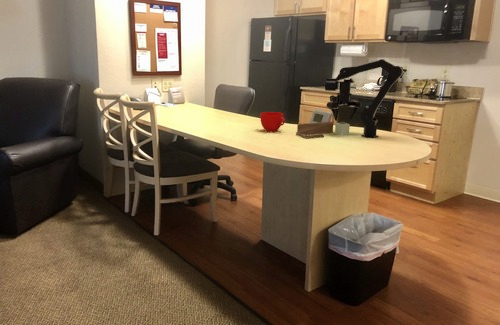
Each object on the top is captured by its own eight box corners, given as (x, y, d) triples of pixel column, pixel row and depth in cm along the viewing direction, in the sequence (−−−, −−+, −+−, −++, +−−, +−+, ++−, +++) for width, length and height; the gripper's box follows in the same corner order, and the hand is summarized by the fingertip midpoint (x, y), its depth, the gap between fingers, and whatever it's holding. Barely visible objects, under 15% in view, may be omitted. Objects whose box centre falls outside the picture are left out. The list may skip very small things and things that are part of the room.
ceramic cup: (275, 134, 213) (275, 116, 210) (255, 130, 225) (255, 113, 223) (292, 132, 220) (292, 114, 218) (272, 128, 233) (272, 111, 230)
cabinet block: (348, 135, 213) (349, 122, 211) (341, 135, 211) (342, 123, 209) (342, 133, 218) (343, 121, 217) (334, 133, 216) (335, 121, 215)
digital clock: (307, 126, 237) (308, 109, 234) (321, 126, 240) (321, 108, 237) (319, 131, 222) (320, 113, 219) (333, 130, 225) (335, 112, 222)
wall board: (342, 135, 211) (343, 124, 209) (305, 138, 203) (306, 127, 201) (331, 132, 220) (331, 121, 219) (295, 135, 212) (296, 124, 210)
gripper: (349, 89, 219) (348, 117, 223) (321, 90, 212) (320, 119, 216) (362, 91, 209) (360, 120, 213) (333, 92, 202) (331, 122, 206)
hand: (343, 120), depth 213 cm, fingers open, 9 cm apart
